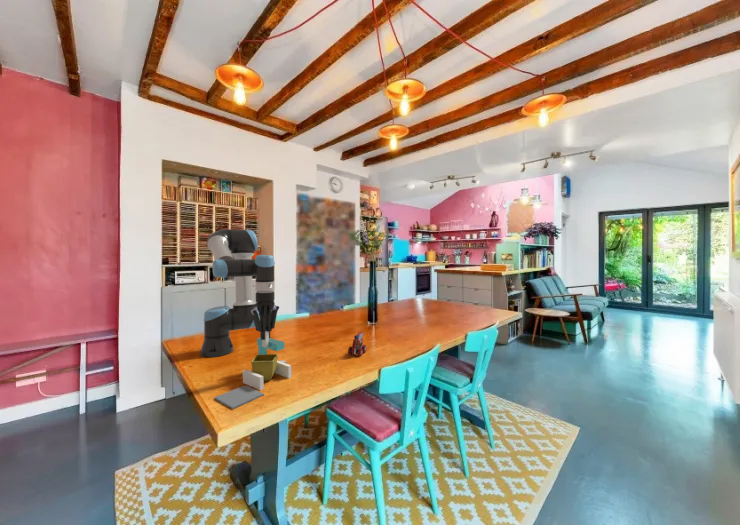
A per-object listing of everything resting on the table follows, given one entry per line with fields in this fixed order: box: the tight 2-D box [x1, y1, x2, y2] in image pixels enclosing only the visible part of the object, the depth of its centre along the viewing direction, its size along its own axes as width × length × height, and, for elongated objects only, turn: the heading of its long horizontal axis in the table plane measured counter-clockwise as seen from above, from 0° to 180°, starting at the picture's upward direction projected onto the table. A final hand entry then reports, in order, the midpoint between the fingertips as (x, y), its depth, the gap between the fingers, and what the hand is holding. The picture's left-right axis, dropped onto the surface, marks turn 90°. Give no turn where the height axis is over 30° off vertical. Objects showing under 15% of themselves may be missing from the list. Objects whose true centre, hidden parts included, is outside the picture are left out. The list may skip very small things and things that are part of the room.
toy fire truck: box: [347, 331, 367, 357], centre depth 155 cm, size 7×12×10 cm, turn 160°
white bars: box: [241, 359, 292, 391], centre depth 129 cm, size 18×24×5 cm
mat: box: [213, 384, 265, 410], centre depth 109 cm, size 12×12×1 cm
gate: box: [256, 337, 285, 355], centre depth 130 cm, size 14×4×14 cm, turn 55°
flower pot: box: [250, 353, 279, 382], centre depth 124 cm, size 9×9×9 cm
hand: (265, 346), depth 128 cm, fingers closed
